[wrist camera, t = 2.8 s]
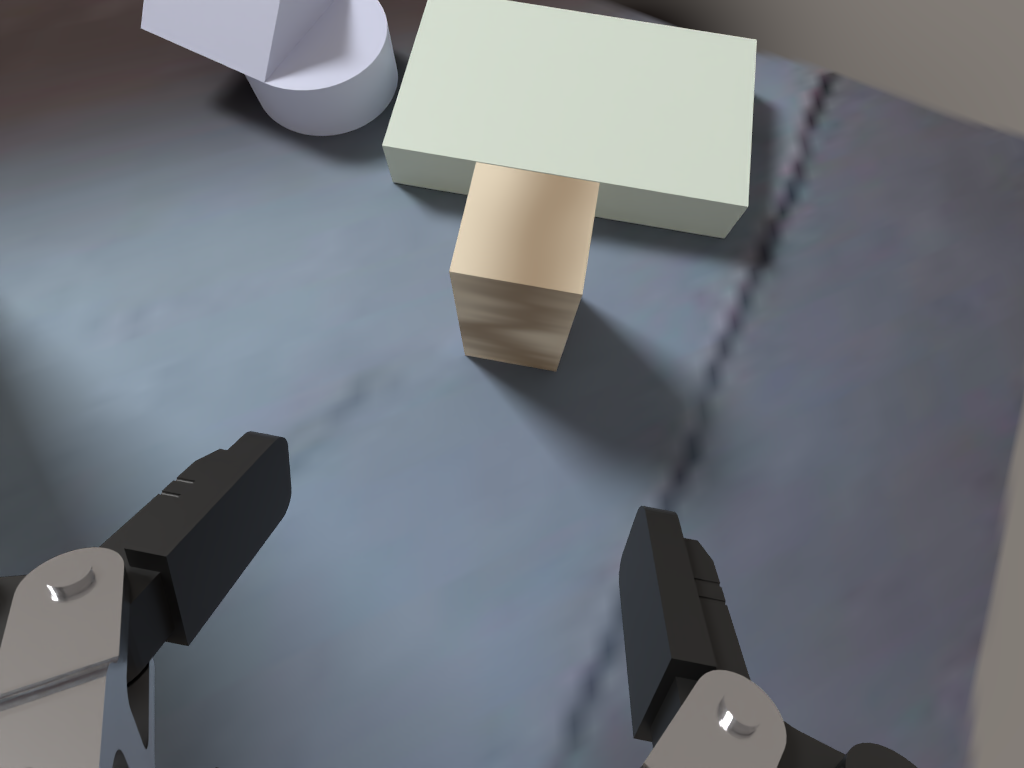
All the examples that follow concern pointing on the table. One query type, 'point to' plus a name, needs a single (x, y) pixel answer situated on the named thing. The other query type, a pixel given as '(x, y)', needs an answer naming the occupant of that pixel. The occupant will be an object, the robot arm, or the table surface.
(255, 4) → the wedge on round base
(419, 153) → the sage board
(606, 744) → the table surface
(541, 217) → the birch block
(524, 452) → the table surface
